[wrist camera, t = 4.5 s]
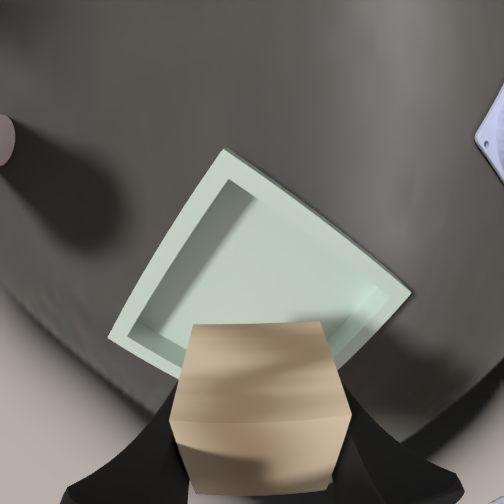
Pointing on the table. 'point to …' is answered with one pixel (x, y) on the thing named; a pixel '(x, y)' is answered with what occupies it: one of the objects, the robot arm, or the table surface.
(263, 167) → the table surface
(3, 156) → the smoothie
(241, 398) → the maple cube
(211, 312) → the green tray
